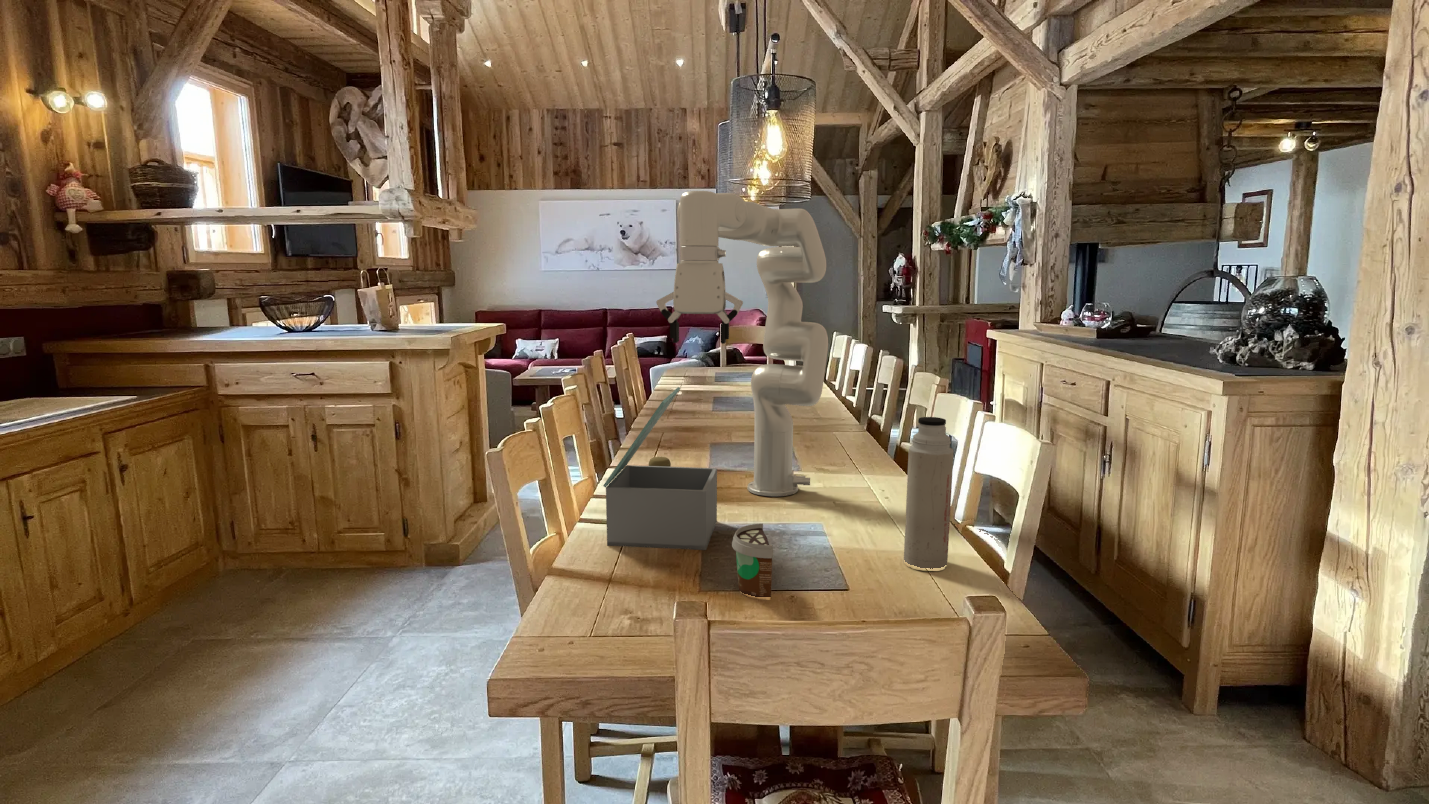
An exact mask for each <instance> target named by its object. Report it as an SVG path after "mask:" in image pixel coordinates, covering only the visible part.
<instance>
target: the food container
mask: <svg viewBox="0 0 1429 804" xmlns="http://www.w3.org/2000/svg"><path fill="white" fill-rule="evenodd" d="M731 547H732V549H733V550H734V551H735V555H736V557H735V558H736V572H737V573H736V574H737V587H738V588H739V590H738V591H741V592H742V593H744V594H748V595H751V596H755V597H771V598H772V581H773V559H774V549H773V548H774V546H773V545H771V544H769V540H768V537H767V535H766V534H765V532H764V523H752V524H748V525H744V526H742V527H738V528H737V530H736V531H735V532H734V534H733V537H732V542H731Z"/></svg>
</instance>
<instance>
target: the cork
mask: <svg viewBox="0 0 1429 804" xmlns="http://www.w3.org/2000/svg"><path fill="white" fill-rule="evenodd" d="M648 466H666V467H672V464H671V461H670V459H669V458H668V457H665V456H654V457H651V458H650V459H649V461H648Z"/></svg>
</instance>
